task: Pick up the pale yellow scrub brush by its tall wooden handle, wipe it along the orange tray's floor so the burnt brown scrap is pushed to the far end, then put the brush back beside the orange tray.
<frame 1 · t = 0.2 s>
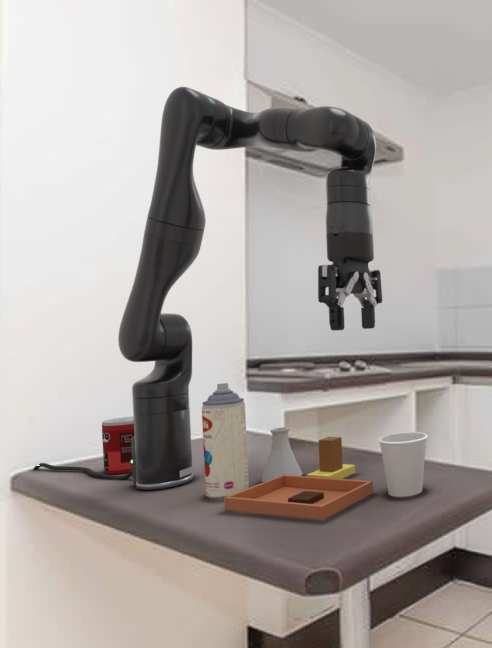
hand: (353, 329, 93), 29 cm above the table, tool pointing down, fingers open, 8 cm apart
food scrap: (306, 501, 92), resting on orange tray
aerosol can: (228, 496, 99), on the table
orange tray: (301, 503, 92), on the table
flask: (282, 480, 107), on the table
brush: (331, 480, 106), on the table
canned food: (126, 470, 120), on the table
dixie cup: (405, 495, 96), on the table
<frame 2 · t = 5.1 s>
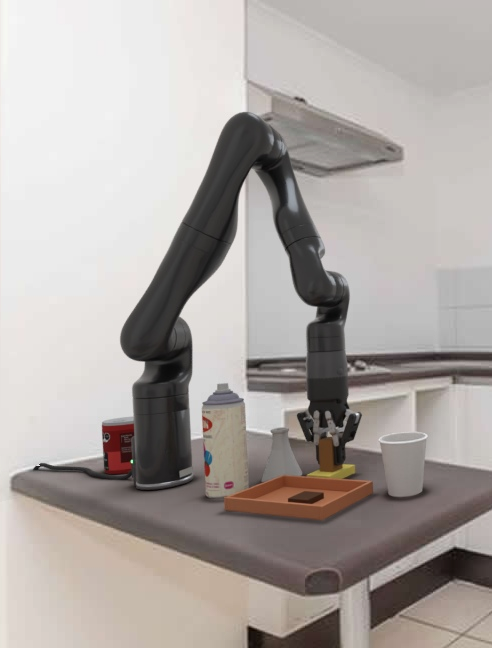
hand: (331, 463, 106), 3 cm above the table, tool pointing down, fingers closed on brush, 3 cm apart
brush: (331, 480, 106), on the table, touching gripper
everything else where it was.
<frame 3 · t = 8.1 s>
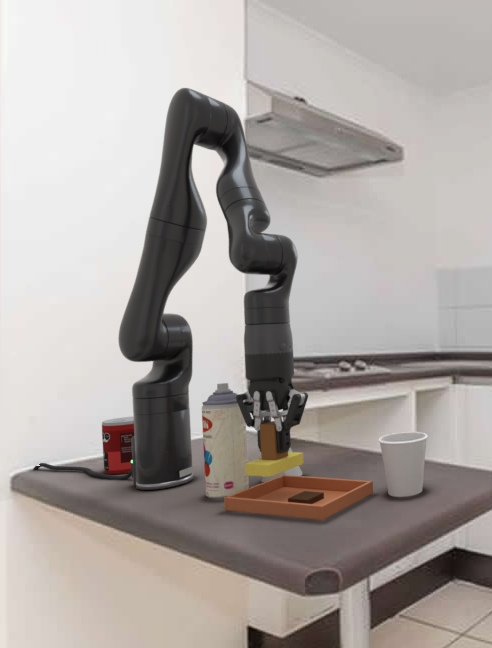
hand: (274, 451, 94), 9 cm above the table, tool pointing down, fingers closed on brush, 3 cm apart
brush: (275, 469, 94), point 5 cm above the table, touching gripper
everything else where it was.
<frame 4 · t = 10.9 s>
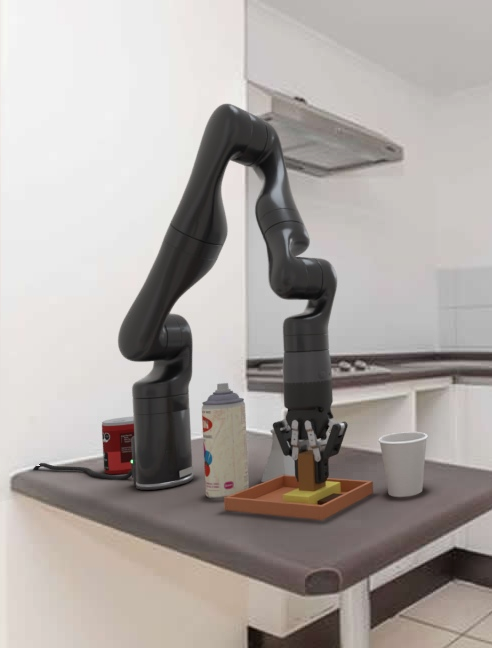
hand: (312, 481, 92), 4 cm above the table, tool pointing down, fingers closed on brush, 3 cm apart
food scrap: (335, 503, 90), resting on orange tray, touching brush
brush: (313, 500, 92), point 1 cm above the table, touching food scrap, gripper
everything else where it was.
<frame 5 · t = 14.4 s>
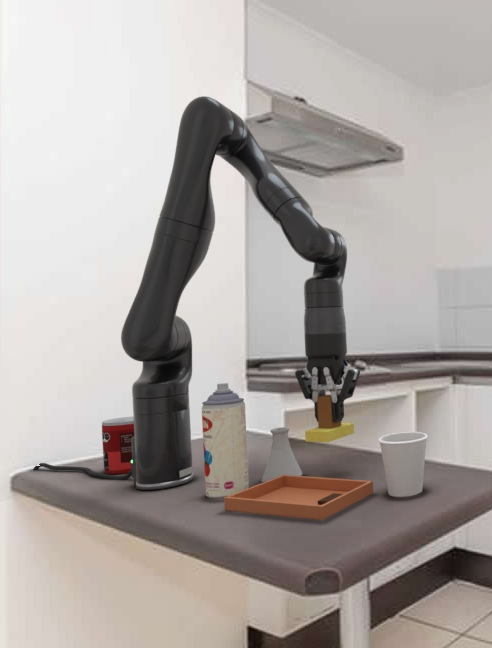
hand: (329, 420, 106), 11 cm above the table, tool pointing down, fingers closed on brush, 3 cm apart
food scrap: (336, 503, 90), resting on orange tray
brush: (330, 437, 106), point 8 cm above the table, touching gripper
everything else where it was.
when the fingers open (3 cm above the table, at t = 16.6 s): brush stays where it is, on the table.
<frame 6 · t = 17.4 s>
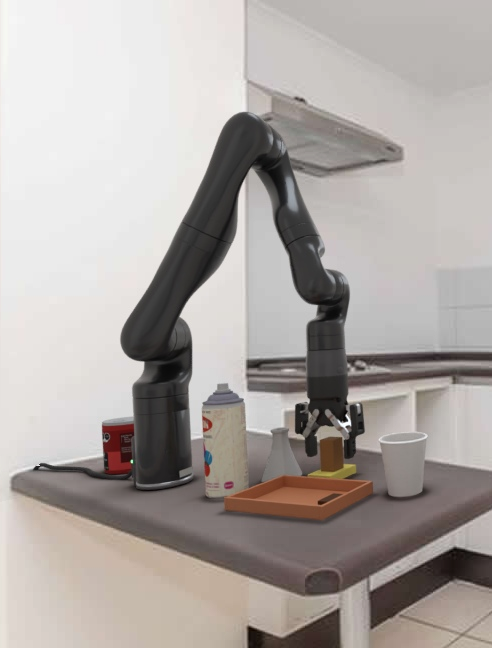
hand: (330, 457, 106), 4 cm above the table, tool pointing down, fingers open, 8 cm apart
brush: (332, 479, 106), on the table
everything else where it was.
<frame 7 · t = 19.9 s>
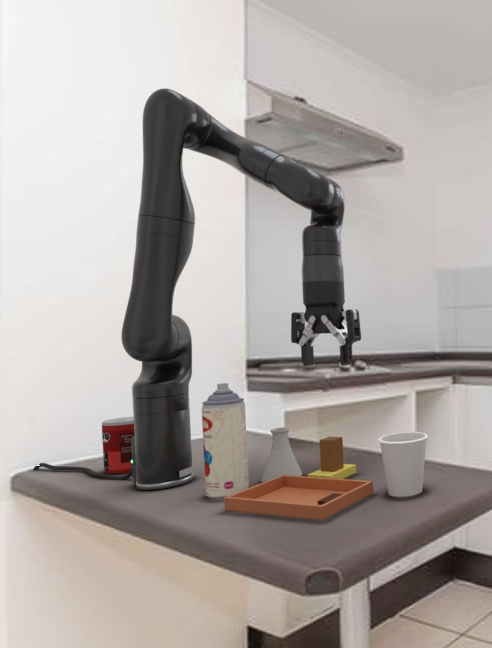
hand: (326, 365, 106), 22 cm above the table, tool pointing down, fingers open, 8 cm apart
nothing on the table moved.
at the end: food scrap inside the target area in the orange tray (0.7 cm from its centre), point 0.5 cm above the orange tray's base; brush inside the target area (0.2 cm from its centre), on the table; the gripper is holding nothing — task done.
